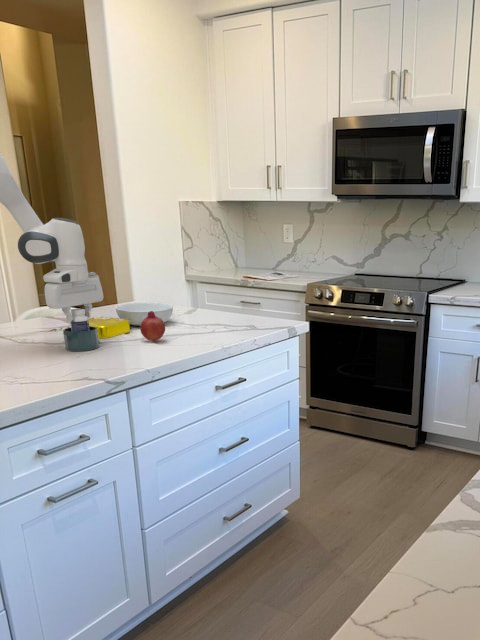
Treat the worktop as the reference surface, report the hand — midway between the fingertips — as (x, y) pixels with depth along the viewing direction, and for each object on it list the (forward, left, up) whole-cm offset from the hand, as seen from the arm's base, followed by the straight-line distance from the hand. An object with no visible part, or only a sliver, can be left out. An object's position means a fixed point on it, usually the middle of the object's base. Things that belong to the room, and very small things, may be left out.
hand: (78, 319), depth 190 cm
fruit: (+22, -6, -9) cm, 25 cm away
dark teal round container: (0, 0, -9) cm, 9 cm away
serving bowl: (+36, +23, -9) cm, 44 cm away
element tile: (+15, +17, -9) cm, 24 cm away
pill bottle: (0, 0, -7) cm, 7 cm away
